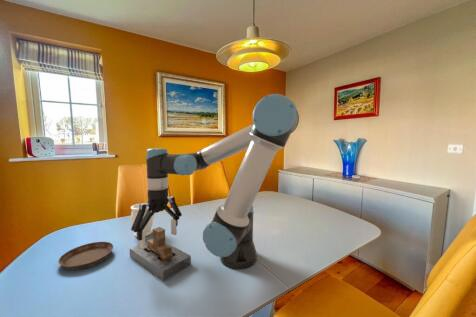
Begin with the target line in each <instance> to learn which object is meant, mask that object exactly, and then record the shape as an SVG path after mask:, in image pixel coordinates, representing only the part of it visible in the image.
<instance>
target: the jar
mask: <svg viewBox="0 0 476 317" xmlns="http://www.w3.org/2000/svg"><path fill="white" fill-rule="evenodd" d="M146 203H147V202H142V204H146ZM140 204H141V203H136V204H133V205H131V206H130V210H131V214H130V217H131V218H130V220H131V225H133V223H134V221H135V218H136V216H137V214H138V211H139V205H140ZM148 208H149V207H147V209H146V211H145V214H146V213H147V210H148ZM151 212H152V211H151ZM145 214H144V216H145ZM154 215H155V214H154ZM154 215H152V217H151V218H150V220H149V221H148V223H147V225H146V226H145V228H144V229H143V230H144V231H145V237H147V236H149V235H151V234H153V231H152V229H153V223H154ZM144 216H143V217H144ZM133 236H134V237H136V238H137V232H134V234H133Z"/></svg>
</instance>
